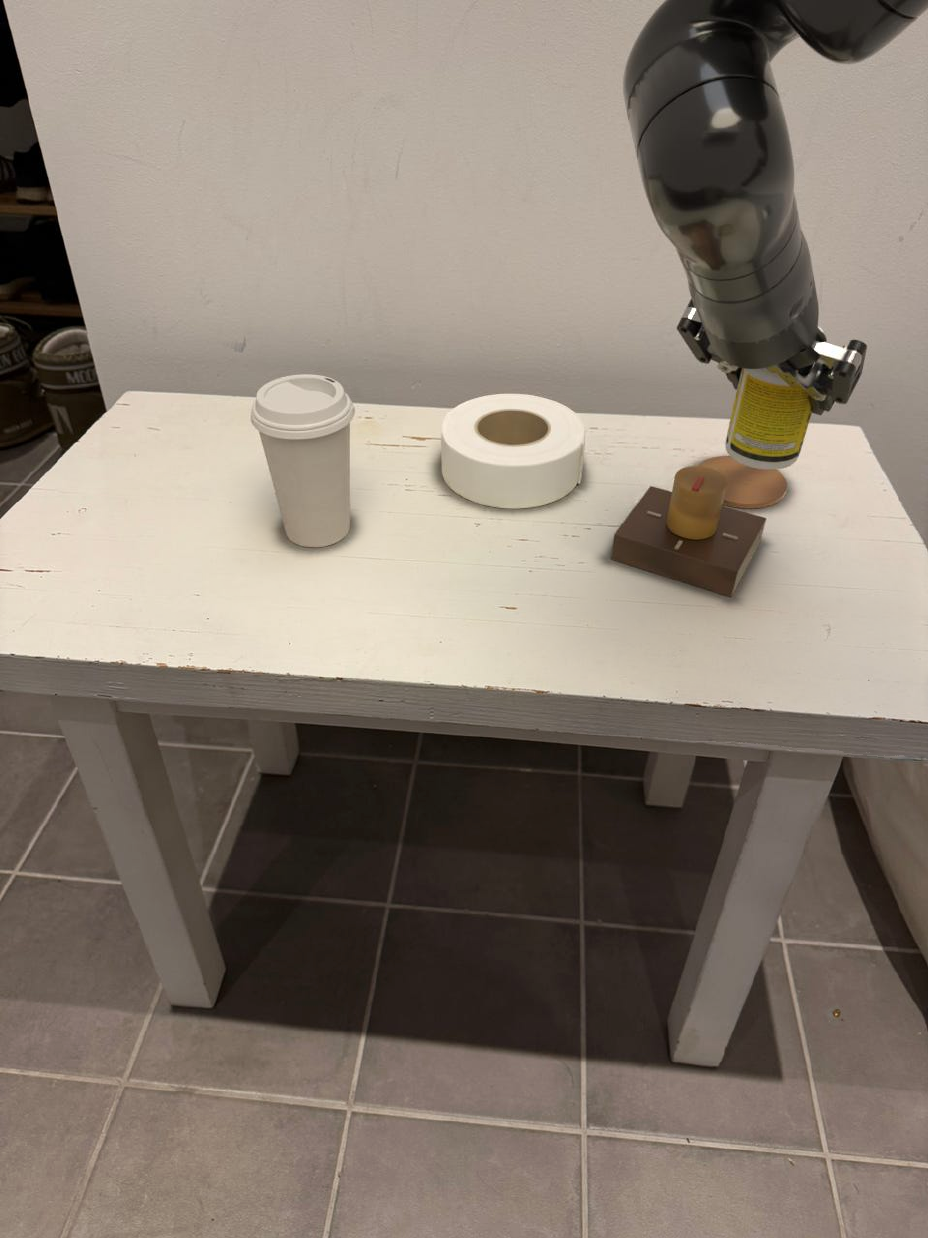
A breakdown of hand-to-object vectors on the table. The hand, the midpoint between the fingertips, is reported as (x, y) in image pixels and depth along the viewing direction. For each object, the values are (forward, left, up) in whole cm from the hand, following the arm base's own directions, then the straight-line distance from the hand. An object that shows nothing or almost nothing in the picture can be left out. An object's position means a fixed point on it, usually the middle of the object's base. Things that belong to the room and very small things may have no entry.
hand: (782, 391), depth 72 cm
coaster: (+4, -15, -18) cm, 24 cm away
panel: (+5, 0, -18) cm, 19 cm away
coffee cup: (+39, +15, -18) cm, 46 cm away
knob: (+5, 0, -15) cm, 16 cm away
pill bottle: (0, +2, -5) cm, 6 cm away
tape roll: (+27, -5, -18) cm, 33 cm away
